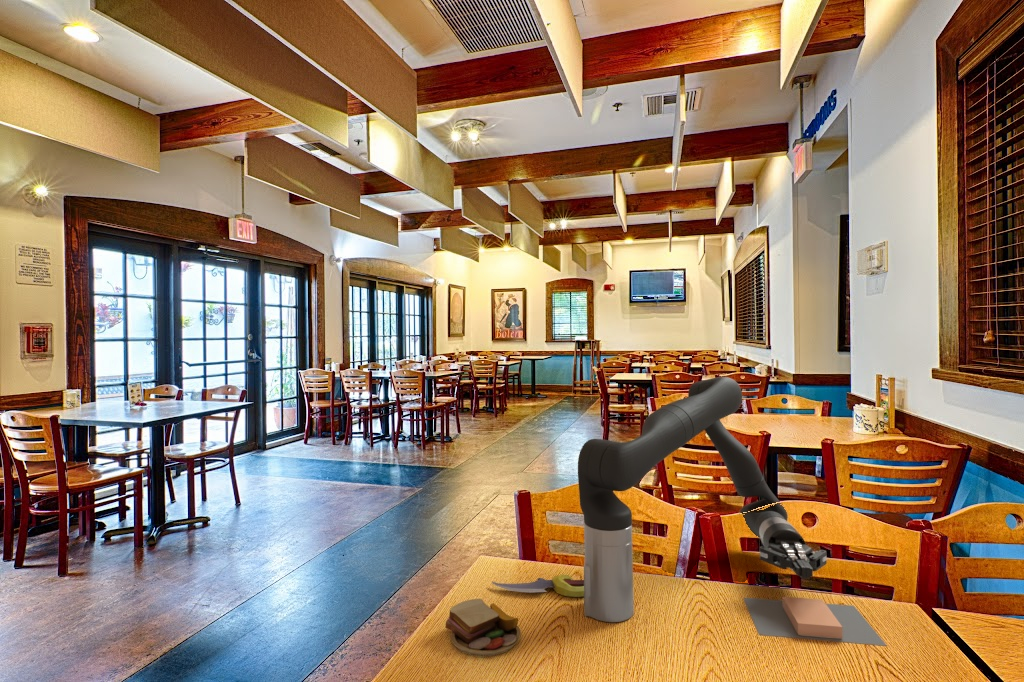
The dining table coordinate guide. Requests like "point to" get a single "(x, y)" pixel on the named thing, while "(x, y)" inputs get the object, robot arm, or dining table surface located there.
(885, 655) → the dining table surface
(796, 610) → the tile
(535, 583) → the knife
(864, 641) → the mat
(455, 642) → the toy sandwich meal
